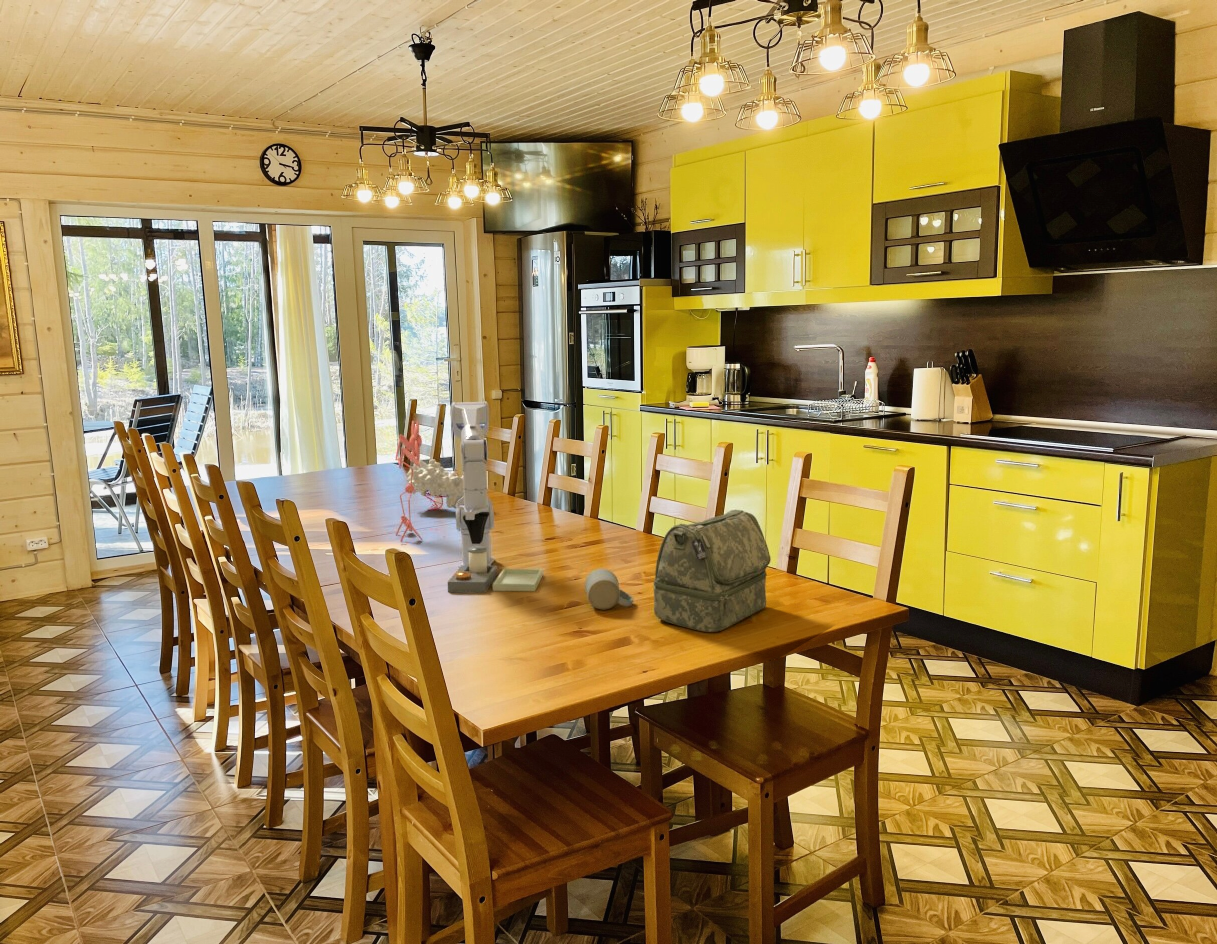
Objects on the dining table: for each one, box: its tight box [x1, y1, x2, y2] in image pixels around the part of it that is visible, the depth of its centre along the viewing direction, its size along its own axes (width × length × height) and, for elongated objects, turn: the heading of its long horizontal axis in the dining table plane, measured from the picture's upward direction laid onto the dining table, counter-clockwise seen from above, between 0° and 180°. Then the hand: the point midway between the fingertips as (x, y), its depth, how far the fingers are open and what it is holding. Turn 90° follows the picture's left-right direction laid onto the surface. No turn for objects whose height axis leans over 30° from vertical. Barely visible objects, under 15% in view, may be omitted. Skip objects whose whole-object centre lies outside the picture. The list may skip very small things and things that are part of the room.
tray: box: [492, 568, 544, 592], centre depth 220 cm, size 14×10×2 cm
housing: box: [447, 565, 498, 593], centre depth 220 cm, size 15×9×2 cm, turn 176°
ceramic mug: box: [584, 568, 635, 611], centre depth 201 cm, size 11×8×8 cm
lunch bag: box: [653, 509, 772, 633], centre depth 192 cm, size 26×18×22 cm
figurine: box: [394, 420, 446, 546], centre depth 269 cm, size 15×26×35 cm, turn 22°
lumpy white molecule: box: [406, 458, 464, 512], centre depth 310 cm, size 20×18×25 cm
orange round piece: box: [455, 571, 471, 580], centre depth 216 cm, size 4×4×4 cm
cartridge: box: [468, 546, 487, 573], centre depth 223 cm, size 5×5×8 cm
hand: (477, 542), depth 222 cm, fingers closed
